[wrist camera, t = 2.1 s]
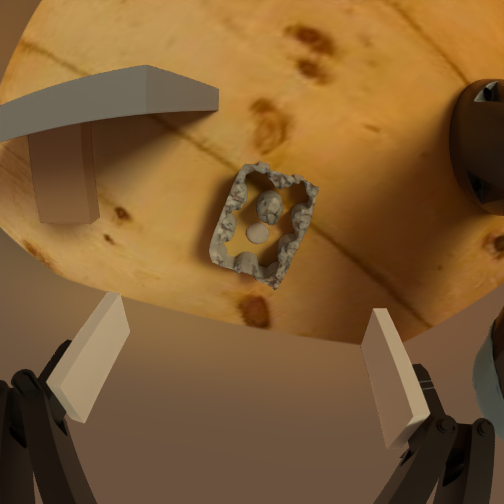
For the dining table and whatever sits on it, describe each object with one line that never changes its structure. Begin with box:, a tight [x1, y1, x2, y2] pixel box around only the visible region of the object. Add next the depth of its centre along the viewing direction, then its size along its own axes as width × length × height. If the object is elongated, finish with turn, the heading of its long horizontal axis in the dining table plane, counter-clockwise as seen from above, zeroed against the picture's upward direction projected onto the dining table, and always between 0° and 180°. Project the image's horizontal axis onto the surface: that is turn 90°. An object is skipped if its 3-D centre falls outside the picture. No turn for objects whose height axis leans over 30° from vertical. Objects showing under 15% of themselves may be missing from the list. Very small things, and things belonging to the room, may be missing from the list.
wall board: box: [0, 65, 219, 224], centre depth 19 cm, size 24×10×16 cm, turn 88°
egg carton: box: [209, 161, 319, 290], centre depth 27 cm, size 11×8×4 cm
